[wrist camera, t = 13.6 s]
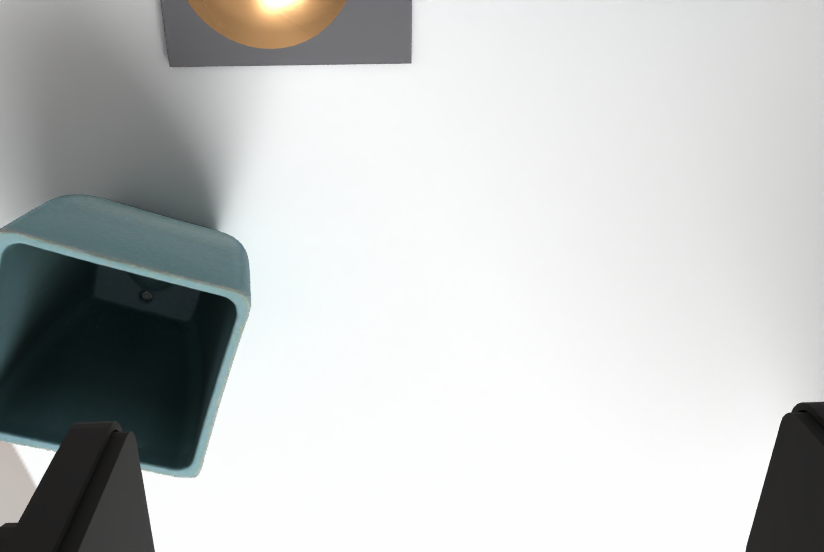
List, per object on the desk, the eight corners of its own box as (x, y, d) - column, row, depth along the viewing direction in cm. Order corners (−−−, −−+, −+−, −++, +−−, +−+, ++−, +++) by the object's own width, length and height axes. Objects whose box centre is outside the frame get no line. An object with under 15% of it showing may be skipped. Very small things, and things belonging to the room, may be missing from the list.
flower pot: (71, 146, 33) (-11, 226, 25) (271, 204, 35) (254, 296, 27) (41, 316, 36) (-41, 435, 28) (225, 360, 38) (197, 482, 30)
